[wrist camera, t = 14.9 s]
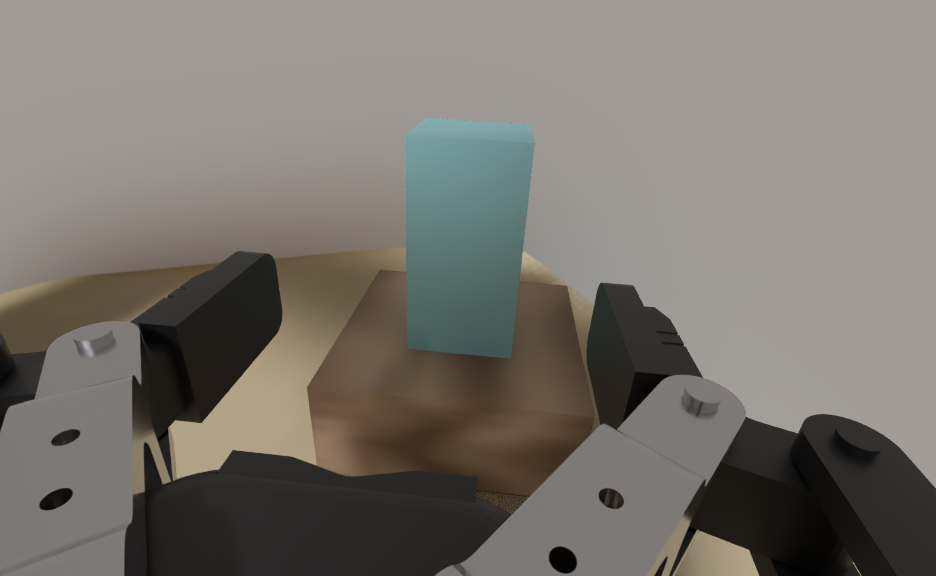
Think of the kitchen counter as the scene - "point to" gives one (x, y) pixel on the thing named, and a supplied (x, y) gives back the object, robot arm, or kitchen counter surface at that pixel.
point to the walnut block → (452, 396)
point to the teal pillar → (465, 233)
